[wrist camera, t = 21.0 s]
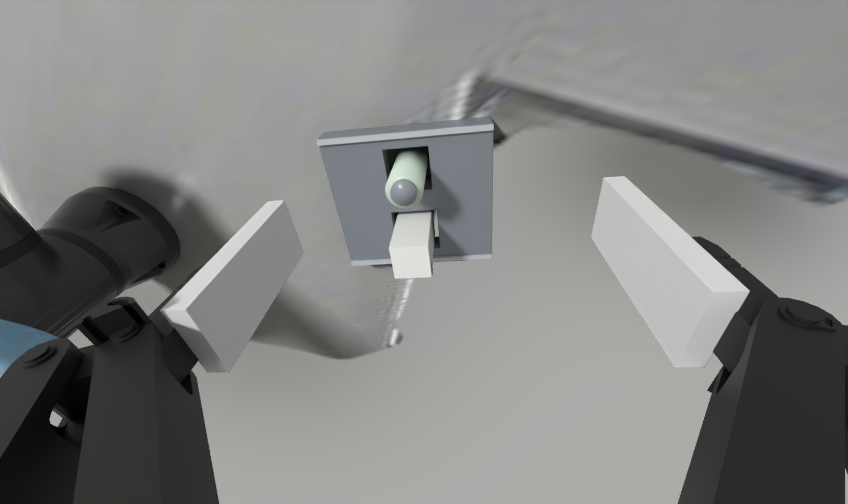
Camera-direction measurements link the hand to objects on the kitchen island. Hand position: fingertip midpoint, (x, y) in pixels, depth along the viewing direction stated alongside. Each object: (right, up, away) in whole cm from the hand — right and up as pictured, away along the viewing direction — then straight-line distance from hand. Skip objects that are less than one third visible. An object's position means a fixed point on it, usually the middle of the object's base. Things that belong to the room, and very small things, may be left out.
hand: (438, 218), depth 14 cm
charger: (-2, +3, +33) cm, 33 cm away
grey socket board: (-2, +6, +31) cm, 32 cm away
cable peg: (-2, +10, +28) cm, 30 cm away
